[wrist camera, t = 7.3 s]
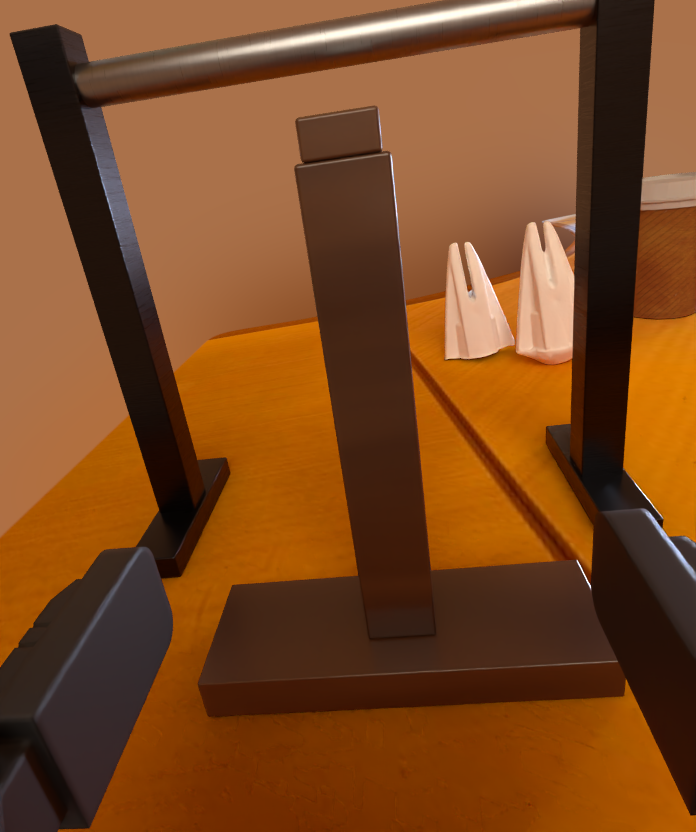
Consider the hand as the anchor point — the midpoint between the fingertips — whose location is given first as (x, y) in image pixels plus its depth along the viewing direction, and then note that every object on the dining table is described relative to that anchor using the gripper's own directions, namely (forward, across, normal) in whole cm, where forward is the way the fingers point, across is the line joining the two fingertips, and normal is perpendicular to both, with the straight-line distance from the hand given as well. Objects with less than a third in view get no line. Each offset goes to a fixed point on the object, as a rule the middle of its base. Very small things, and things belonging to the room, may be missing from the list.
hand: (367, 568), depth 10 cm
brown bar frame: (+10, 0, +10) cm, 14 cm away
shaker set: (+39, -11, +10) cm, 41 cm away
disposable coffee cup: (+48, -26, +10) cm, 56 cm away
